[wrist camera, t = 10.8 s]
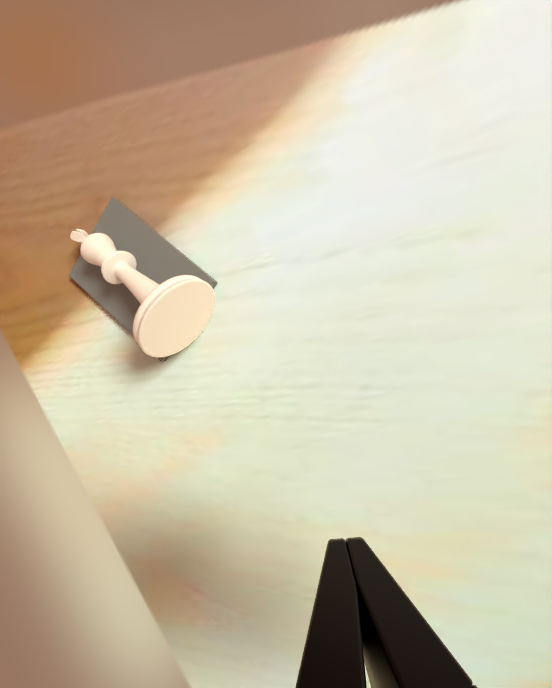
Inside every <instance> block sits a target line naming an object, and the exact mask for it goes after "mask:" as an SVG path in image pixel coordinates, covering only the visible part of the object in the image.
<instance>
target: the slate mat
mask: <svg viewBox="0 0 552 688" xmlns="http://www.w3.org/2000/svg"><path fill="white" fill-rule="evenodd" d="M94 233H103V234H106V235H107V236H109V237H110V238H111V240H112V241H113V243H114V245H115V248H116V250H117V251H126V252H129V253H131V254H132V255H133V256H134V257H135V259H136V264H137V265H136V270H137V271H138V272H140V273H141V274H143V275H145V276H146V277H148V278H149V279H151V280H153V281H154V282H156V283H158V284H159V285H160V284H161V283H163V282H164V281H166V280H168V279H170V278H173V277H176V276H180V275H192V276H196V277H198V278H200V279H201V280H203V281H205V282H207V283H208V284H210V285H211V287H212V288H213V289H214V287H215V286H216V284H217V282H216V281H215V280H214V279H213V278H211V277H210V276H209V275H208V274H207V273H205V272H204V271H203V270H202V269H200V268H199V267H198V266H197V265H196V264H194V263H193V262H192V261H191V260H190V259H188V258H187V257H186V256H185V255H183V254H182V253H181V252H180V251H179V250H177V249H176V248H175V247H174V246H173V245H171V244H170V243H169V242H168V241H166V240H165V239H164V238H163V237H162V236H160V235H159V234H158V233H157V232H156V231H154V230H153V229H152V228H151V227H149V226H148V225H147V224H146V223H145V222H143V221H142V220H141V219H140V218H139V217H137V216H136V215H135V214H134V213H133V212H131V211H130V210H129V209H128V208H126V207H125V206H124V205H123V204H122V203H120V202H119V201H118V200H117V199H115V198H113V197H112V198H111V199H110V201H109V203H108V205H107V207H106V208H105V210H104V212H103V214H102V216H101V218H100V219H99V221H98V223H97V225H96V227H95V229H94V230H93V232H92V234H94ZM69 276H70V277H71V278H72V279H73V280H74V281H75V282H76V283H77V284H78V285H80V286H81V287H82V288H83V289H84V290H85V291H86V292H87V293H88V294H89V295H90V296H91V297H92V298H94V299H95V300H96V301H97V302H98V303H99V304H100V305H101V306H102V307H103V308H104V309H105V310H106V311H108V312H109V313H110V314H111V315H112V316H113V317H114V318H115V319H116V320H117V321H118V322H119V323H120V324H122V325H123V326H124V327H125V328H126V329H127V330H128V331H129V332H130V333H131V334H132V335H133V322H134V318H135V315H136V313H137V310H138V308H139V307H140V305H141V304H140V302H139V301H138V300H137V299H136V297H135V296H134V295H133V294H132V292H131V291H130V290H129V289H128V288H127V287H126V285H125V284H124V283H121V284H111V283H109V282H107V281H106V280H105V279H104V277H103V275H102V272H101V266H98V265H94V264H91V263H89V262H87V261H86V260H85V259H84V258H83V257H82V255H81V254H80V256H79V258H78V260H77V261H76V263H75V265H74V267H73V269H72V270H71V272H70V274H69ZM133 336H134V335H133ZM167 357H168V356H167ZM167 357H159V358H158V359H159V360H160V361H165V360H166V359H167Z"/></svg>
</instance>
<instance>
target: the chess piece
mask: <svg viewBox="0 0 552 688" xmlns="http://www.w3.org/2000/svg"><path fill="white" fill-rule="evenodd" d="M70 238H71V239H72V240H74V241H77V242H82V244H81V248H80V251H81V255H82V257H83V258H84V259H85V260H86V261H87V262H89V263H91V264H94V265H98V266H101V272H102V275H103V277H104V279H105V280H106V281H107V282H109V283H111V284H121V283H124V284H125V285H126V287H127V288H128V289H129V290H130V291H131V292H132V294H133V295H134V296H135V297H136V299H137V300H138V301H139V302H140V304H141V305H140V307H139V308H138V310H137V313H136V315H135V318H134V322H133V335H134V338H135V341H136V342H137V344H138V345H139V346H140V347H141V349H142V351H143V352H144V353H145V354H147V355H149V356H151V357H157V358H159V357H167V356H170V355H173V354H175V353H177V352H179V351H181V350H183V349H184V348H186V347H187V346H188V345H190V344H191V343H192V342H193V341H194V340H195V339H196V338H197V337H198V336H199V335H200V334H201V333H202V331H203V330H204V329H205V327H206V326H207V324H208V322H209V321H210V319H211V316H212V314H213V311H214V307H215V293H214V290H213V288H212V287H211V285H210V284H208V283H207V282H205V281H203V280H201V279H200V278H198V277H196V276H192V275H180V276H176V277H173V278H170V279H168V280H166V281H164V282H163V283H161V284H160V285H159V284H158V283H156V282H154V281H153V280H151V279H149V278H148V277H146V276H145V275H143V274H141V273H140V272H138V271H137V270H136V265H137V264H136V259H135V257H134V256H133V255H132V254H131V253H129V252H126V251H117V250H116V248H115V245H114V243H113V241H112V240H111V238H110V237H109V236H107V235H106V234H103V233H94V234H91V235H88V234H87V233H86V232H85V231H84V230H81V229H76V232H75V231H72V233H71V236H70Z"/></svg>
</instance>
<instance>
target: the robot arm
mask: <svg viewBox="0 0 552 688" xmlns="http://www.w3.org/2000/svg"><path fill="white" fill-rule="evenodd" d="M364 662H365V665H364ZM365 666H366V670H367V673H368V677H369V681H370V684H371V688H477V686H475V685H473V686H472V680H471V679H470V678H469V676H468V675H467V674H466V672H465V671H464V670H463V668H462V667H461V666H460V664H459V663H458V662H457V661H456V659H455V658H454V657H453V655H452V654H451V653H450V651H449V650H448V649H447V648H446V646H445V645H444V644H443V642H442V641H441V640H440V638H439V637H438V636H437V634H436V633H435V632H434V631H433V629H432V628H431V627H430V625H429V624H428V623H427V621H426V620H425V619H424V617H423V616H422V615H421V614H420V612H419V611H418V610H417V608H416V607H415V606H414V604H413V603H412V602H411V601H410V599H409V598H408V597H407V595H406V594H405V593H404V591H403V590H402V589H401V587H400V586H399V585H398V584H397V582H396V581H395V580H394V578H393V577H392V576H391V574H390V573H389V572H388V570H387V569H386V568H385V567H384V565H383V564H382V563H381V561H380V560H379V559H378V557H377V556H376V555H375V554H374V552H373V551H372V550H371V548H370V547H369V546H368V544H367V543H366V542H365V541H364V539H363V538H361V537H355V538H347V539H346V541H345V540H344V539H342V538H341V539H330V540H329V541H328V544H327V549H326V553H325V558H324V562H323V567H322V571H321V576H320V580H319V585H318V589H317V594H316V598H315V603H314V607H313V612H312V616H311V621H310V625H309V630H308V634H307V639H306V643H305V647H304V652H303V656H302V661H301V665H300V670H299V674H298V679H297V683H296V688H367V687H366V676H365Z"/></svg>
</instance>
